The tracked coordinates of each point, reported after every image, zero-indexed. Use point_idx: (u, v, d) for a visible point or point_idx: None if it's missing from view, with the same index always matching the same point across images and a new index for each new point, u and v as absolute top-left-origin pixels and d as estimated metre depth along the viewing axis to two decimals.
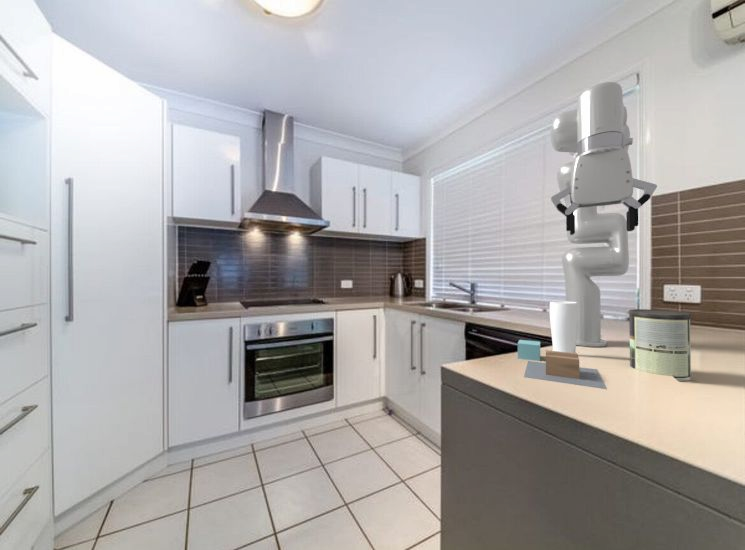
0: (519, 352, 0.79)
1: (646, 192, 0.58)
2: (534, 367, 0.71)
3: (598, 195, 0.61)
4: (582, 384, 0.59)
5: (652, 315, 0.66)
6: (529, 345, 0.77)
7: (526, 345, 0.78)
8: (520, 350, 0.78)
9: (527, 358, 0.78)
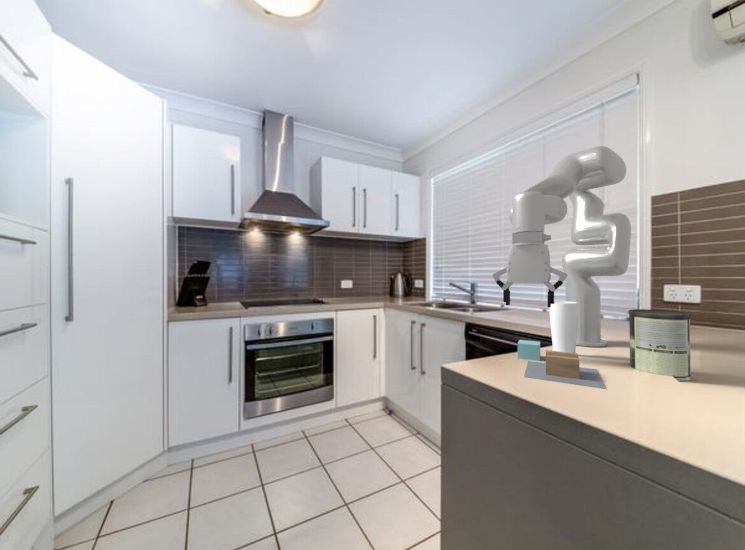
0: (519, 352, 0.79)
1: (560, 279, 0.75)
2: (534, 367, 0.71)
3: (525, 278, 0.78)
4: (582, 384, 0.59)
5: (652, 315, 0.66)
6: (529, 345, 0.77)
7: (526, 345, 0.78)
8: (520, 350, 0.78)
9: (527, 358, 0.78)
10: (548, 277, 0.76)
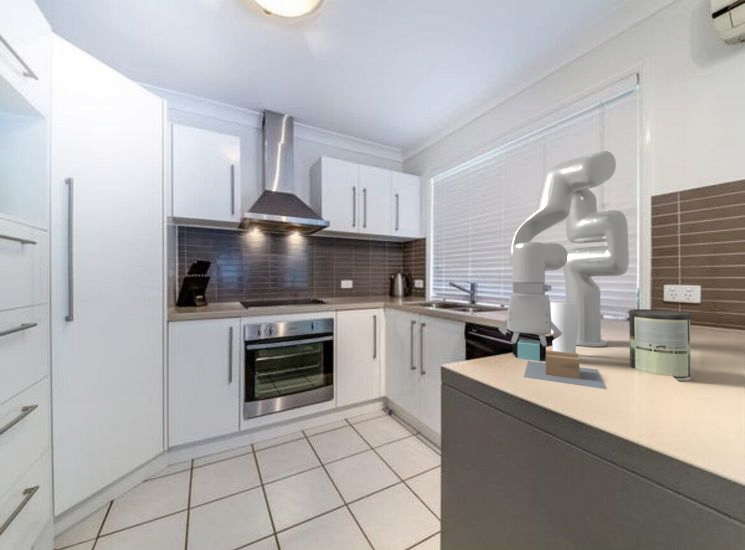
0: (519, 352, 0.78)
1: (553, 335, 0.76)
2: (534, 367, 0.71)
3: (526, 328, 0.78)
4: (582, 384, 0.59)
5: (652, 315, 0.66)
6: (529, 345, 0.77)
7: (526, 345, 0.78)
8: (520, 349, 0.78)
9: (527, 358, 0.77)
10: (549, 329, 0.76)
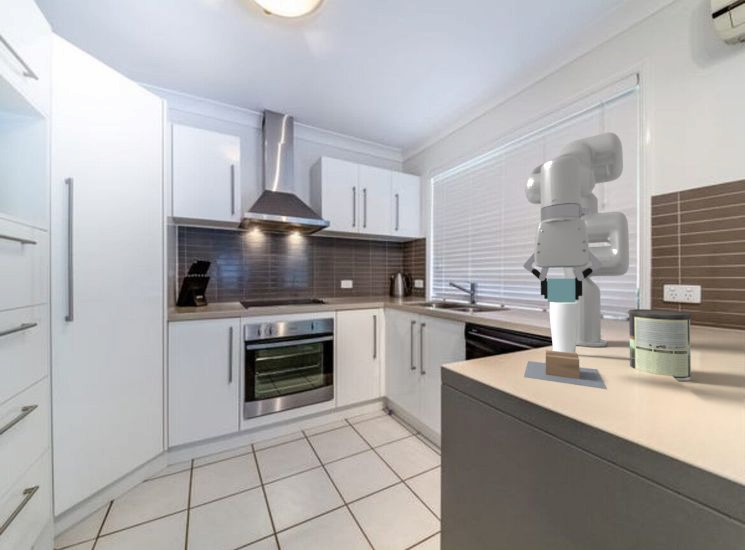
0: (549, 289, 0.66)
1: (591, 266, 0.64)
2: (534, 367, 0.71)
3: (558, 261, 0.65)
4: (582, 384, 0.59)
5: (652, 315, 0.66)
6: (562, 280, 0.64)
7: (558, 280, 0.65)
8: (550, 286, 0.66)
9: (559, 295, 0.65)
10: (587, 259, 0.63)
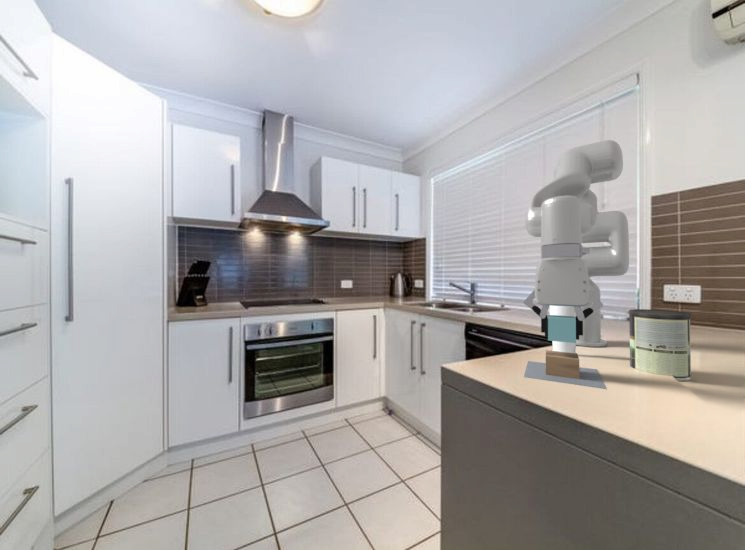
0: (550, 328, 0.65)
1: (592, 306, 0.63)
2: (534, 367, 0.71)
3: (559, 300, 0.65)
4: (582, 384, 0.59)
5: (652, 315, 0.66)
6: (562, 319, 0.64)
7: (559, 319, 0.65)
8: (551, 325, 0.65)
9: (560, 335, 0.64)
10: (587, 299, 0.63)
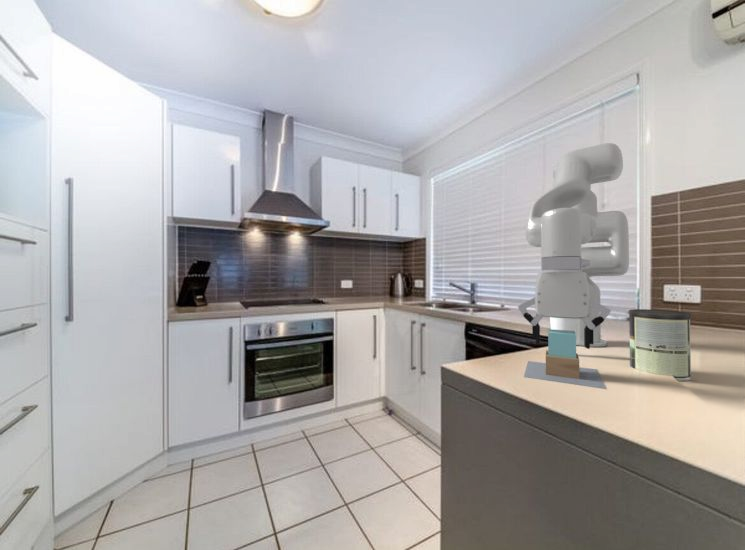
0: (550, 343, 0.66)
1: (601, 315, 0.63)
2: (534, 367, 0.71)
3: (559, 312, 0.65)
4: (582, 384, 0.59)
5: (652, 315, 0.66)
6: (563, 335, 0.64)
7: (559, 335, 0.65)
8: (551, 340, 0.65)
9: (560, 350, 0.65)
10: (588, 312, 0.63)
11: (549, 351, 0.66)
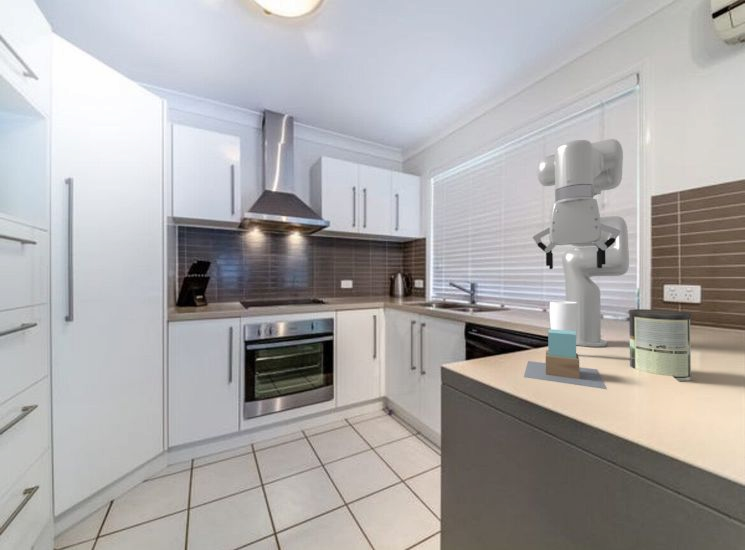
0: (550, 343, 0.66)
1: (612, 236, 0.68)
2: (534, 367, 0.71)
3: (572, 238, 0.71)
4: (582, 384, 0.59)
5: (652, 315, 0.66)
6: (563, 335, 0.64)
7: (559, 335, 0.65)
8: (551, 340, 0.65)
9: (560, 350, 0.65)
10: (599, 235, 0.69)
11: (549, 351, 0.66)
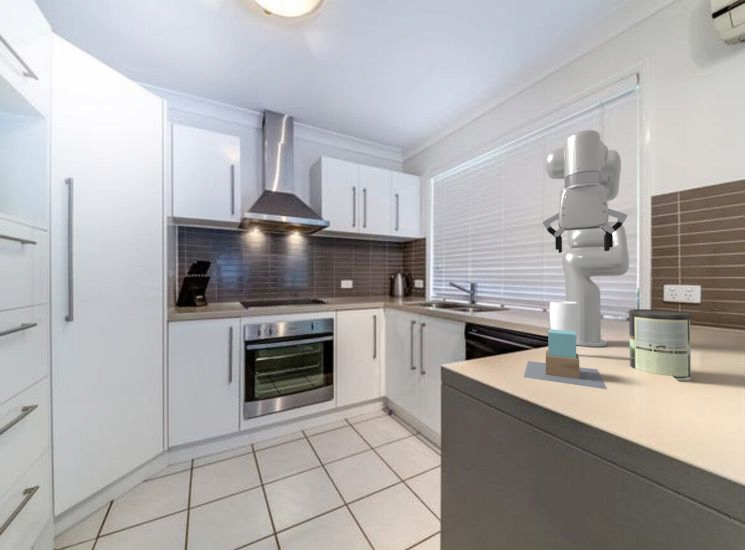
0: (550, 343, 0.66)
1: (619, 220, 0.72)
2: (534, 367, 0.71)
3: (581, 222, 0.75)
4: (582, 384, 0.59)
5: (652, 315, 0.66)
6: (563, 335, 0.64)
7: (559, 335, 0.65)
8: (551, 340, 0.65)
9: (560, 350, 0.65)
10: (606, 218, 0.72)
11: (549, 351, 0.66)
